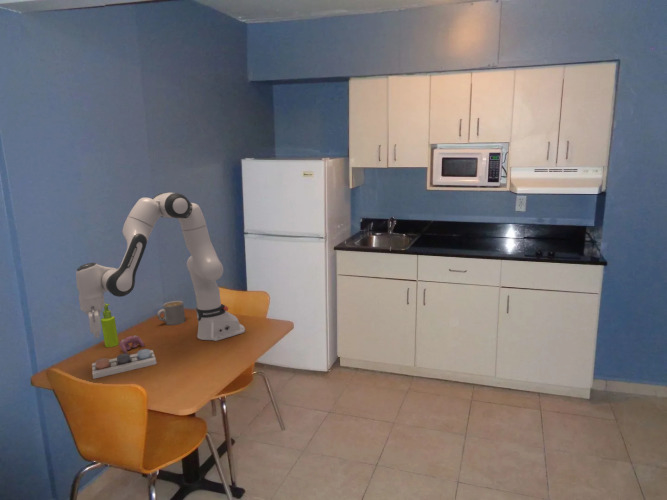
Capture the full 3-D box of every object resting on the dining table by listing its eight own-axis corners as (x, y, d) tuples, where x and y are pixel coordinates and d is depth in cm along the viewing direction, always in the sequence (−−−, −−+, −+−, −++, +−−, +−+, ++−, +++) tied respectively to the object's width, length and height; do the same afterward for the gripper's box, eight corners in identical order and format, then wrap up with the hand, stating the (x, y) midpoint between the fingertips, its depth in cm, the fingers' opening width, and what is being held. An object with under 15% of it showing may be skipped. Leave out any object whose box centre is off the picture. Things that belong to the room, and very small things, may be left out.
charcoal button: (130, 359, 205) (129, 352, 204) (131, 363, 201) (130, 356, 200) (117, 361, 203) (116, 355, 202) (118, 366, 198) (117, 359, 198)
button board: (153, 354, 213) (152, 350, 212) (156, 364, 202) (156, 359, 202) (92, 367, 202) (92, 363, 202) (93, 378, 192) (92, 374, 191)
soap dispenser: (108, 342, 230) (102, 302, 226) (121, 342, 229) (115, 302, 225) (100, 347, 225) (93, 306, 221) (113, 347, 223) (106, 306, 219)
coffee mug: (184, 317, 260) (181, 299, 258) (186, 322, 251) (184, 304, 249) (157, 322, 255) (155, 304, 253) (159, 327, 246) (156, 309, 244)
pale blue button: (150, 354, 208) (149, 348, 208) (151, 358, 204) (150, 352, 203) (137, 357, 206) (136, 350, 206) (138, 361, 202) (137, 354, 201)
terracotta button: (109, 363, 202) (108, 356, 201) (110, 368, 197) (109, 361, 197) (96, 366, 199) (95, 359, 199) (96, 371, 195) (95, 364, 194)
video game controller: (142, 348, 225) (136, 334, 225) (146, 345, 222) (140, 331, 222) (121, 355, 217) (116, 341, 218) (125, 353, 214) (119, 338, 215)
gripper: (101, 309, 185) (106, 343, 188) (100, 296, 203) (105, 327, 206) (83, 312, 182) (88, 346, 185) (83, 299, 200) (88, 330, 203)
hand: (97, 336), depth 195 cm, fingers closed
